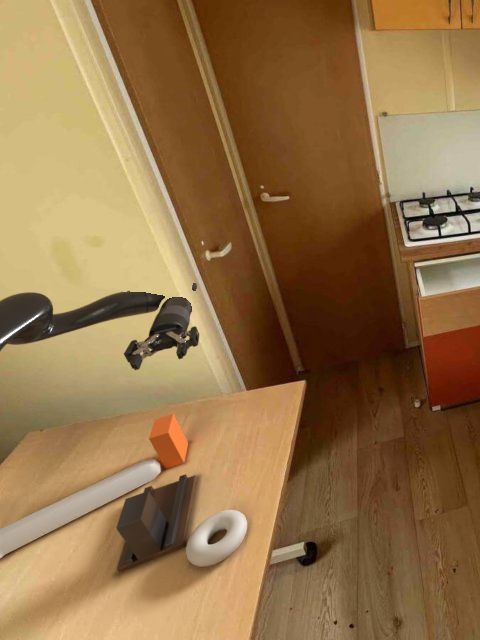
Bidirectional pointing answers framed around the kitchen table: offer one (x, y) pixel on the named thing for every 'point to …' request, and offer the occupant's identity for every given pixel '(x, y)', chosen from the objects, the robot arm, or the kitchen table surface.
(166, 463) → the orange rectangular block
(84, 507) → the tube
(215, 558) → the donut
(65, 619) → the kitchen table surface
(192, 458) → the kitchen table surface
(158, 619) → the kitchen table surface
